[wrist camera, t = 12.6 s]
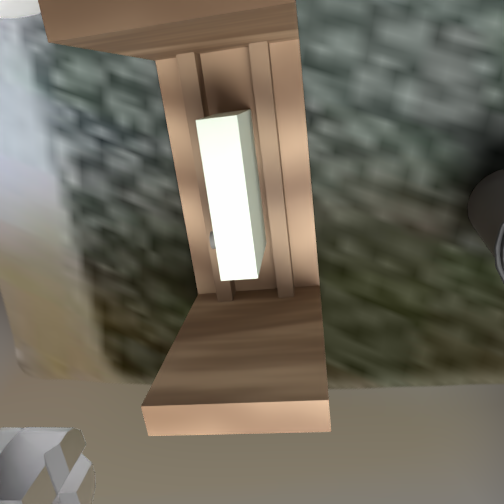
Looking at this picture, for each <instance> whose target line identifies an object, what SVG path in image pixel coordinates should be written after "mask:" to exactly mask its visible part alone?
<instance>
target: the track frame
mask: <svg viewBox="0 0 504 504" xmlns="http://www.w3.org/2000/svg"><path fill="white" fill-rule="evenodd" d="M38 3H39V7H40V11H41V15H42V19H43V23H44V27H45V31H46V35H47V38H48V42H49V43H55V44H61V45H67V46H73V47H79V48H84V49H90V50H96V51H102V52H108V53H114V54H120V55H125V56H131V57H137V58H143V59H149V60H155V62H156V67H157V72H158V78H159V83H160V89H161V94H162V100H163V105H164V110H165V116H166V121H167V127H168V132H169V138H170V143H171V149H172V154H173V159H174V165H175V170H176V176H177V181H178V187H179V192H180V197H181V203H182V208H183V214H184V219H185V225H186V230H187V236H188V241H189V246H190V252H191V257H192V263H193V268H194V274H195V279H196V284H197V290H198V295H197V297H196V299H195V301H194V303H193V305H192V307H191V309H190V311H189V313H188V315H187V317H186V319H185V321H184V323H183V325H182V327H181V329H180V331H179V333H178V335H177V337H176V339H175V341H174V343H173V345H172V347H171V348H170V350H169V352H168V354H167V356H166V358H165V360H164V362H163V364H162V366H161V368H160V370H159V372H158V374H157V376H156V378H155V380H154V382H153V384H152V386H151V388H150V390H149V392H148V394H147V396H146V398H145V400H144V402H143V404H142V406H141V408H142V412H143V415H144V420H145V424H146V428H147V431H148V436H165V435H166V436H168V435H211V434H212V435H213V434H252V433H253V434H254V433H255V434H256V433H299V432H331V423H330V410H329V397H328V384H327V372H326V359H325V346H324V333H323V320H322V308H321V295H320V284H319V272H318V260H317V248H316V236H315V224H314V212H313V200H312V188H311V176H310V164H309V152H308V140H307V128H306V116H305V105H304V93H303V81H302V69H301V57H300V45H299V33H298V21H297V9H296V0H38ZM248 109H251V115H252V124H253V132H254V141H255V149H256V158H257V166H258V174H259V183H260V191H261V200H262V208H263V217H264V225H265V234H266V242H267V243H266V247H265V251H264V255H263V259H262V263H261V268H260V272H259V276H258V278H256V279H242V280H227V281H221V278H220V271H219V265H218V259H217V253H216V249H212V248H211V246H210V239H209V236H210V232H211V231H213V227H212V221H211V215H210V208H209V202H208V196H207V190H206V183H205V177H204V171H203V164H202V158H201V152H200V145H199V139H198V133H197V127H196V120H198V119H201V118H204V117H207V116H211V115H214V114H217V113H224V112H232V111H240V110H248Z"/></svg>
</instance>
